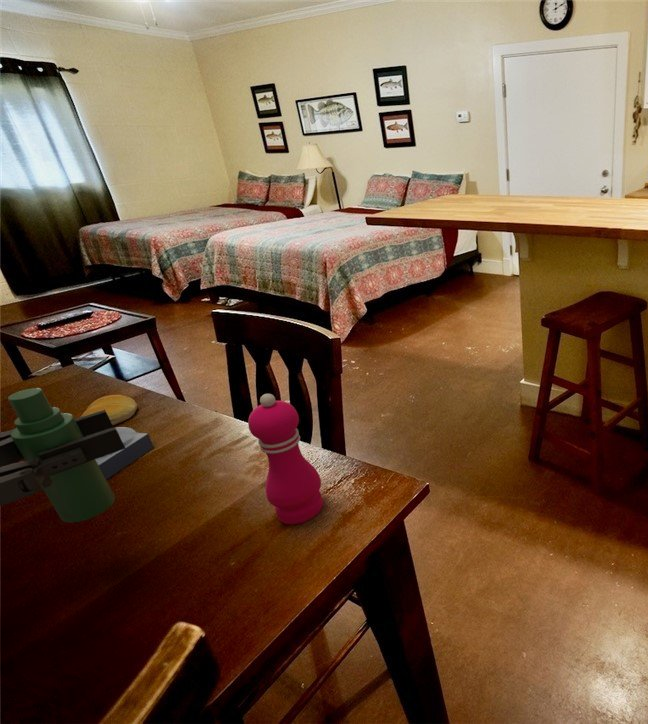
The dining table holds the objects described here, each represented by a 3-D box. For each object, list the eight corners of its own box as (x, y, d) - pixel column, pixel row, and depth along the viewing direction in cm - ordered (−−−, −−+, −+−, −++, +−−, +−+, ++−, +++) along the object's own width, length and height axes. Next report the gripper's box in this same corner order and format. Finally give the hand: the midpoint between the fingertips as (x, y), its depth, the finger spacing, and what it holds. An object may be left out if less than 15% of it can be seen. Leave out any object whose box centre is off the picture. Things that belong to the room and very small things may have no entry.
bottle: (49, 520, 55) (-24, 404, 48) (91, 491, 60) (30, 381, 53) (86, 525, 55) (18, 407, 48) (125, 495, 59) (69, 384, 52)
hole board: (36, 478, 78) (27, 463, 77) (103, 438, 88) (96, 424, 87) (99, 484, 77) (91, 469, 75) (160, 443, 87) (154, 429, 85)
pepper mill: (310, 487, 76) (278, 376, 67) (336, 505, 72) (306, 391, 63) (264, 513, 70) (224, 398, 62) (290, 535, 67) (251, 415, 58)
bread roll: (76, 434, 89) (67, 416, 88) (95, 411, 97) (87, 394, 95) (129, 425, 92) (121, 407, 90) (144, 403, 100) (137, 386, 98)
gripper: (-178, 523, 48) (111, 426, 64) (-212, 634, 38) (145, 485, 53) (-231, 465, 45) (88, 378, 61) (-285, 568, 34) (119, 430, 50)
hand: (114, 428), depth 57 cm, fingers closed on bottle, 5 cm apart
